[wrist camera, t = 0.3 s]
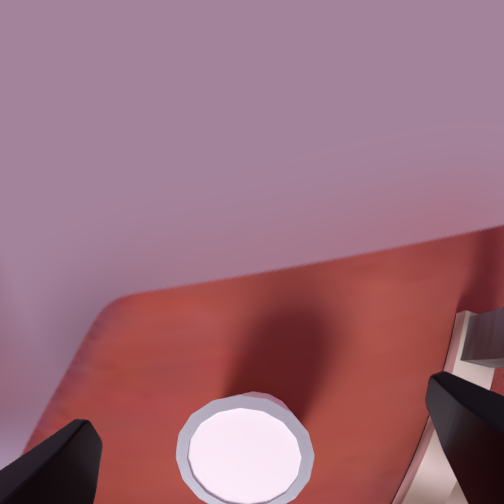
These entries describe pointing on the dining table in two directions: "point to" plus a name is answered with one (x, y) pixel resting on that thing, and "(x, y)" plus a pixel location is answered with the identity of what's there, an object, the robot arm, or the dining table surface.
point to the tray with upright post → (429, 449)
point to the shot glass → (245, 451)
